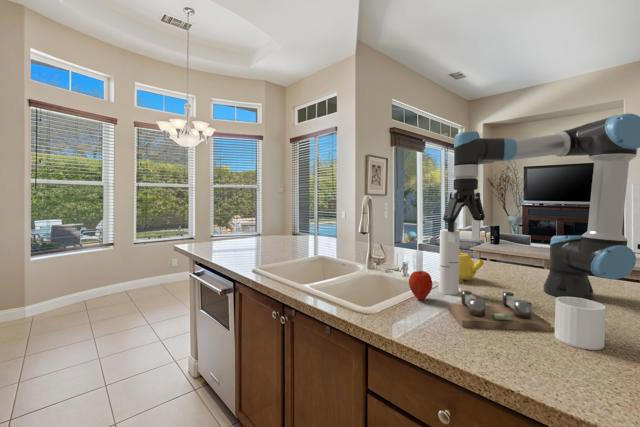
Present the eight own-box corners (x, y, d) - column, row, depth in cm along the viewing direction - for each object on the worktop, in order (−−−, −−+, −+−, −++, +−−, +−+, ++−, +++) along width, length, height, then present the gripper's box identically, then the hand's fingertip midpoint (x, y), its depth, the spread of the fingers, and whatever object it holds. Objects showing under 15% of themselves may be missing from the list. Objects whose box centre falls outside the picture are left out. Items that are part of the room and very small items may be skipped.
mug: (603, 354, 73) (604, 312, 73) (551, 341, 80) (552, 302, 80) (605, 337, 82) (607, 300, 82) (558, 326, 89) (559, 292, 89)
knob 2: (534, 318, 89) (535, 305, 89) (518, 318, 90) (518, 304, 90) (512, 303, 102) (512, 291, 102) (498, 303, 103) (499, 291, 102)
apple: (415, 294, 120) (415, 267, 119) (436, 299, 114) (436, 270, 113) (404, 299, 114) (404, 270, 113) (425, 304, 108) (426, 274, 107)
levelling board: (523, 312, 100) (524, 301, 100) (550, 330, 86) (551, 317, 86) (447, 309, 103) (448, 298, 103) (462, 327, 89) (462, 314, 89)
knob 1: (487, 316, 91) (488, 303, 91) (472, 316, 92) (472, 303, 91) (471, 302, 104) (472, 290, 103) (458, 301, 104) (458, 290, 104)
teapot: (492, 282, 136) (493, 251, 135) (473, 288, 127) (474, 255, 126) (450, 273, 152) (451, 246, 152) (431, 278, 143) (432, 249, 143)
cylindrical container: (460, 295, 118) (461, 231, 117) (440, 294, 120) (441, 230, 118) (456, 289, 125) (457, 229, 124) (437, 289, 126) (438, 229, 125)
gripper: (476, 179, 114) (474, 236, 115) (432, 177, 101) (431, 241, 102) (496, 178, 107) (495, 238, 108) (452, 176, 94) (451, 244, 95)
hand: (464, 240), depth 105 cm, fingers open, 13 cm apart
